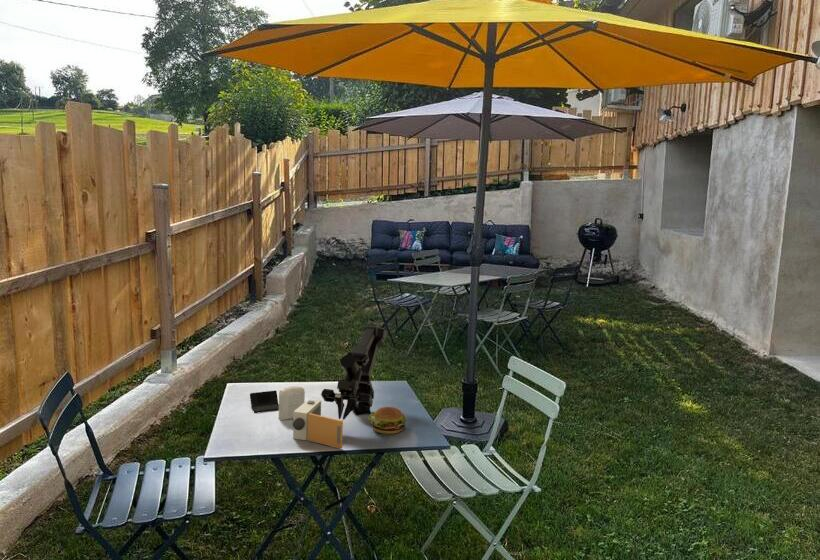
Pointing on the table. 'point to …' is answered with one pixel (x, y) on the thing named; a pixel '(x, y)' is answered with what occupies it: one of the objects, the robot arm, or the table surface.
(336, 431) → the side door
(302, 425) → the action camera
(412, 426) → the table surface
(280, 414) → the cream rounded slab
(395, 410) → the food
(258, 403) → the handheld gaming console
